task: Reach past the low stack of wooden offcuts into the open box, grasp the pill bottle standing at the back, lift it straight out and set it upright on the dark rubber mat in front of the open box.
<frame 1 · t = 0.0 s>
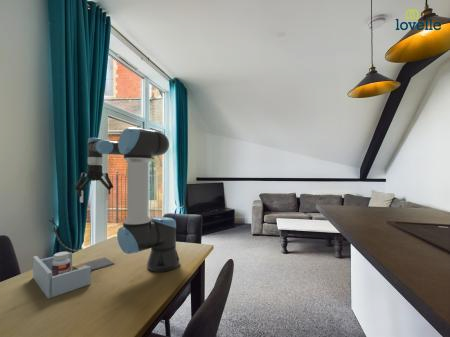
hand: (94, 201, 133), 28 cm above the table, fingers open, 13 cm apart
open box: (66, 279, 97), on the table
mat: (97, 264, 112), on the table
pill bottle: (61, 281, 95), on the table
offcut top: (80, 270, 100), point 2 cm above the table
offcut bottom: (80, 275, 100), on the table
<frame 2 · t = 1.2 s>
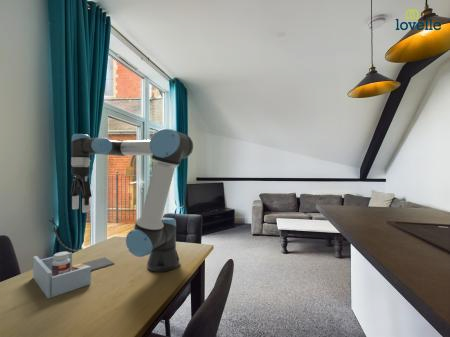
hand: (80, 210, 110), 27 cm above the table, fingers open, 13 cm apart
nothing on the table moved.
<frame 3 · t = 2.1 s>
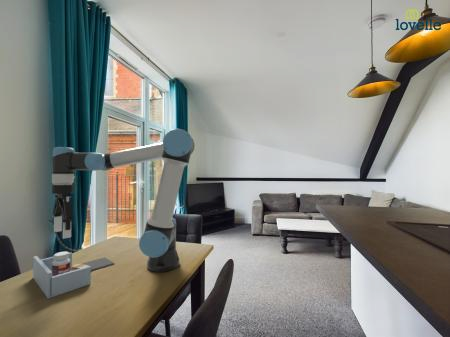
hand: (62, 234, 96), 19 cm above the table, fingers open, 13 cm apart
offcut top: (80, 270, 101), point 2 cm above the table, touching offcut bottom
offcut bottom: (80, 275, 101), on the table, touching offcut top
everything else where it was.
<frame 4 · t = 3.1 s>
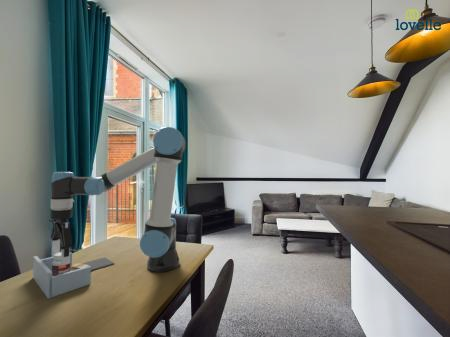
hand: (60, 259, 95), 9 cm above the table, fingers open, 13 cm apart
nothing on the table moved.
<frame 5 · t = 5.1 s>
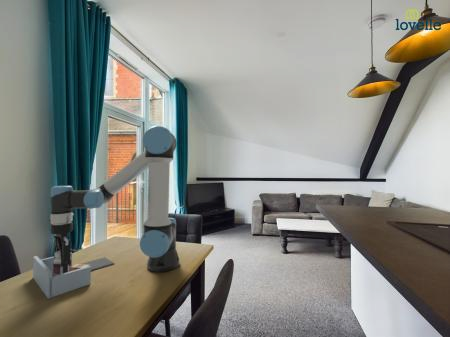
hand: (62, 278, 95), 1 cm above the table, fingers closed on pill bottle, 6 cm apart
pill bottle: (62, 279, 95), point 1 cm above the table, touching gripper
everything else where it was.
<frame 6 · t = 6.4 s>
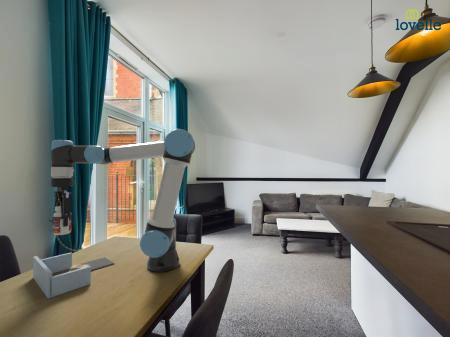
hand: (62, 232, 95), 20 cm above the table, fingers closed on pill bottle, 6 cm apart
pill bottle: (62, 233, 95), point 20 cm above the table, touching gripper
offcut top: (79, 270, 100), point 2 cm above the table
offcut bottom: (79, 276, 100), on the table
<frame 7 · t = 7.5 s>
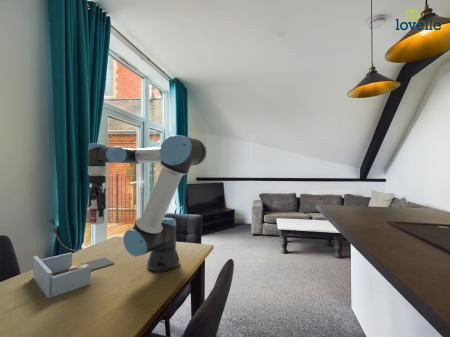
hand: (96, 222, 111), 21 cm above the table, fingers closed on pill bottle, 6 cm apart
pill bottle: (97, 223, 111), point 20 cm above the table, touching gripper
offcut top: (78, 270, 100), point 2 cm above the table, touching offcut bottom
offcut bottom: (79, 276, 100), on the table, touching offcut top
when the fingers open (2 cm above the table, at t = 11.6 s): pill bottle stays where it is, resting on mat.
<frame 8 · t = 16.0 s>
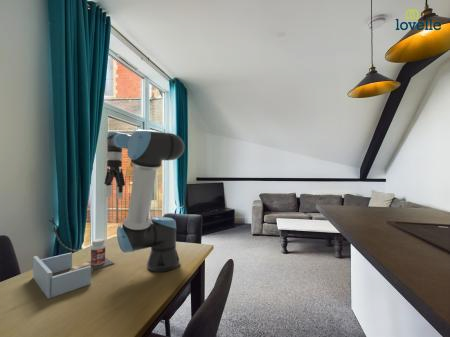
hand: (114, 197, 128), 31 cm above the table, fingers open, 13 cm apart
pill bottle: (98, 263, 112), resting on mat
offcut top: (81, 270, 101), point 2 cm above the table
offcut bottom: (82, 275, 101), on the table
at the end: pill bottle inside the target area on the mat (0.2 cm from its centre), point 0.4 cm above the mat's base; pill bottle tilted 0°; offcut top moved 1.2 cm from its start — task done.
